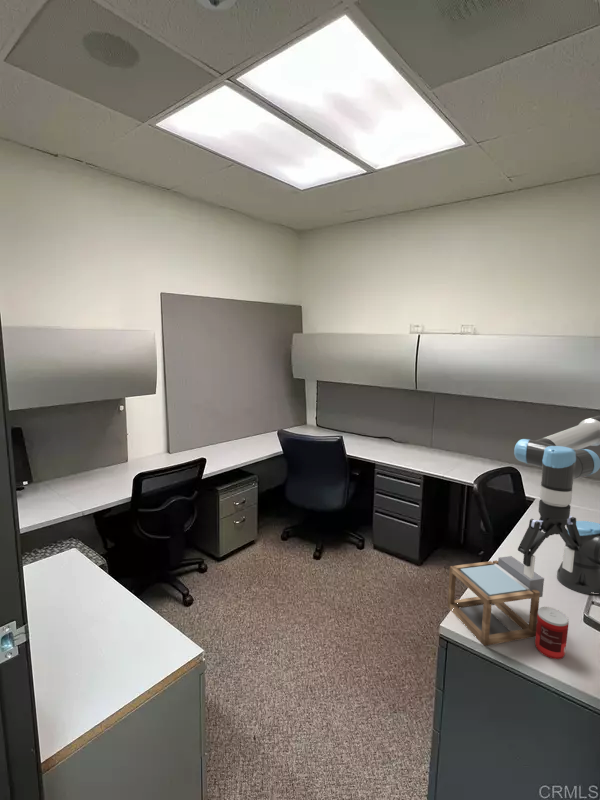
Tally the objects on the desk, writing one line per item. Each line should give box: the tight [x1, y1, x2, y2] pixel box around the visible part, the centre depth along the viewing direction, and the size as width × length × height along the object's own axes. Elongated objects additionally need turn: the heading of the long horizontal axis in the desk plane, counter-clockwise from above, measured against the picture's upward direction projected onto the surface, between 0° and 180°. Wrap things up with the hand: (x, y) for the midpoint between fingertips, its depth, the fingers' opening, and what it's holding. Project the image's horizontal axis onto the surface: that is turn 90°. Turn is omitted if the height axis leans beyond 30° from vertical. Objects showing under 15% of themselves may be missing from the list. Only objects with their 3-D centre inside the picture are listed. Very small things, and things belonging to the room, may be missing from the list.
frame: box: [447, 560, 541, 646], centre depth 133 cm, size 18×19×14 cm
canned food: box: [534, 606, 570, 660], centre depth 121 cm, size 8×8×11 cm
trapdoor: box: [460, 555, 545, 600], centre depth 133 cm, size 19×15×6 cm
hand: (548, 573), depth 120 cm, fingers open, 13 cm apart
